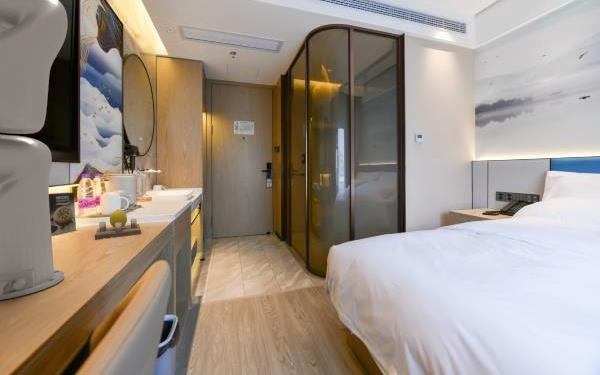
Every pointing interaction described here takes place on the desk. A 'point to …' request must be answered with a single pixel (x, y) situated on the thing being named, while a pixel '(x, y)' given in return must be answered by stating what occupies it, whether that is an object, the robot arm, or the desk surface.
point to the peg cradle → (117, 230)
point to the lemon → (118, 218)
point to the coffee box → (62, 213)
